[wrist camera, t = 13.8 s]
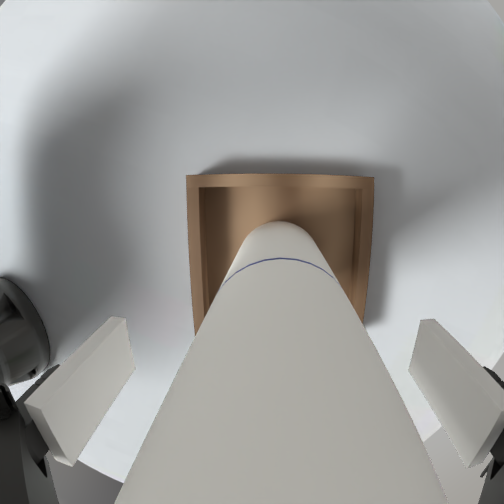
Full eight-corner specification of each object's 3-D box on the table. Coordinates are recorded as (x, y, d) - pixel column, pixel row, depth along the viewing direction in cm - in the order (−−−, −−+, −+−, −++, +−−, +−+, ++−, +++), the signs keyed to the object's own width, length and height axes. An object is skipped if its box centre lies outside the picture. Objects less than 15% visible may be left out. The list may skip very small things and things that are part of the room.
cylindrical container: (334, 248, 26) (514, 519, 2) (290, 312, 28) (306, 610, 4) (265, 205, 26) (156, 487, 2) (223, 273, 28) (78, 557, 3)
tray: (202, 329, 30) (195, 344, 27) (195, 175, 27) (186, 175, 24) (352, 331, 29) (359, 346, 26) (363, 177, 26) (374, 177, 23)
